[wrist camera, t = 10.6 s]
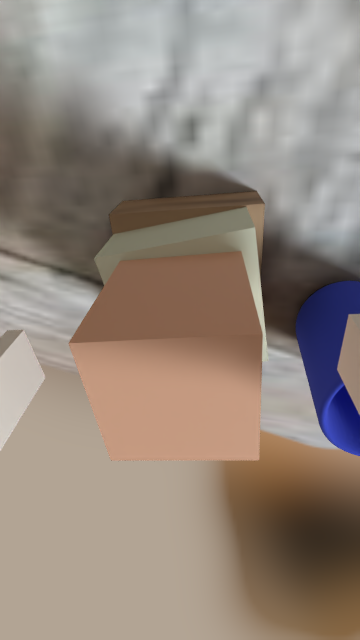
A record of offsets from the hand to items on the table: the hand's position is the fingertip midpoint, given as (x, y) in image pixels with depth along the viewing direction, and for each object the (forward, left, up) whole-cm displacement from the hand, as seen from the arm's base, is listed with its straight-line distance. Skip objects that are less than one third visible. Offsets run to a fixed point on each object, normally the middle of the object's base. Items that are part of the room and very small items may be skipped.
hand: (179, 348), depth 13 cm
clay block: (+1, 0, -4) cm, 4 cm away
